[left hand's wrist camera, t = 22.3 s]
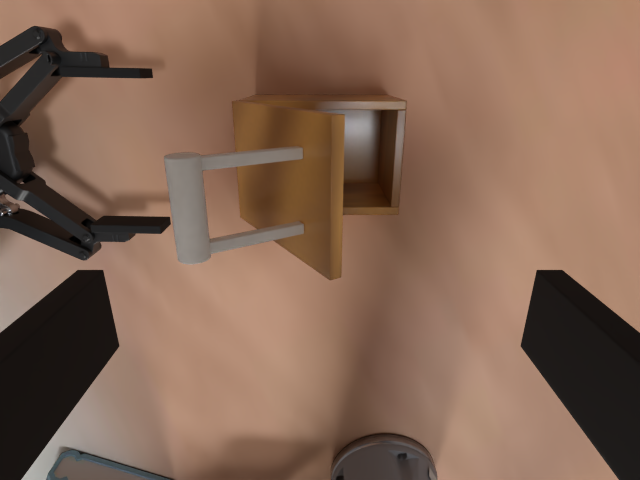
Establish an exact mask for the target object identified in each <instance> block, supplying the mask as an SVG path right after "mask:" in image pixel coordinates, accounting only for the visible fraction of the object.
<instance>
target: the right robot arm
mask: <svg viewBox="0 0 640 480" xmlns="http://www.w3.org/2000/svg"><path fill="white" fill-rule="evenodd" d="M41 54H42V56H41V57H40V58H39V59H38V60H37V61H36V62H35V64H34V65H33V66H32V67H31V68H30V69H29V70H28V71H27V72H26V74H25V75H24V76H23V77H22V78H21V79H20V80H19V81H18V83H17V84H16V85H15V86H14V87H13V88H12V89H11V90H10V91H9V93H8V94H7V95H6V96H5V97H4V98H3V99H2V100H1V102H0V228H6V229H11V230H13V231H15V232H18V233H20V234H22V235H25V236H27V237H29V238H32V239H34V240H36V241H39V242H41V243H43V244H46V245H48V246H50V247H53V248H55V249H57V250H60V251H62V252H64V253H67V254H69V255H71V256H74V257H76V258H78V259H81V260H87V259H89V258H90V257H91V256H92V255H94V254H95V253H96V252H97V251H99V250H100V249H101V243H100V242H126V241H128V240H130V239H131V238H132V237H134V236H135V233H147V234H161V233H162V232H163V231H164V230H165V229H166V228H167V227H168V226H169V225H170V224H171V223H170V217H144V216H103V217H101V218H100V219H98V220H97V221H96V220H95V219H94V218H92V217H91V216H89V215H88V214H87V213H85V212H84V211H82V210H81V209H79V208H78V207H77V206H75V205H74V204H72V203H71V202H70V201H68V200H67V199H65V198H64V197H63V196H61V195H60V194H58V193H57V192H55V191H54V190H53V189H51V188H50V187H48V186H47V185H46V182H45V180H43V179H42V178H41V177H39V176H38V175H36V174H35V173H34V172H32V167H35V164H34V160H33V157H32V155H31V153H30V151H29V139H28V135H27V133H24V132H23V130H22V129H21V128H20V127H19V126H20V125H21V124H22V123H23V122H24V121H25V120H26V119H27V118H28V117H29V115H30V113H29V112H30V111H31V110H32V109H33V108H34V107H35V106H36V105H37V104H38V102H39V101H40V100H41V99H42V98H43V97H44V96H45V95H46V94H47V93H48V92H49V91H50V90H51V88H52V87H53V86H54V85H55V84H56V83H57V82H58V81H59V80H60V79H61V78H62V77H101V78H153V74H152V69H145V68H110V67H109V61H108V56H107V55H105V54H103V53H97V52H70V51H68V50H67V49H66V48H65V47H64V45H63V43H62V36H61V33H60V32H59V31H58V30H56V29H51V28H45V27H38V26H33V27H31V28H29V29H27V30H26V31H24V32H23V33H21V34H19V35H18V36H16V37H14V38H13V39H11V40H9V41H8V42H6V43H4V44H3V45H1V46H0V79H1V78H3V77H4V76H6V75H8V74H9V73H11V72H13V71H14V70H16V69H18V68H19V67H21V66H23V65H25V64H26V63H28V62H30V61H31V60H33V59H35V58H36V57H38V56H40V55H41ZM21 182H24V184H20V183H21ZM6 194H8V195H10V196H11V197H13V198H14V199H16V200H22V201H24V202H26V203H27V204H29V205H30V206H32V207H33V208H35V209H36V210H38V211H39V212H40V213H42V214H43V215H45V216H46V217H48V218H49V219H48V218H45V217H43V216H41V215H38V214H36V213H34V212H31V211H29V210H25V209H20V206H19V204H16V203H15V204H14V203H11V202H9V201H8V200H7V199H6V197H5V195H6ZM50 219H51V220H50Z"/></svg>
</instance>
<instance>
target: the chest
mask: <svg viewBox="0 0 640 480" xmlns="http://www.w3.org/2000/svg"><path fill="white" fill-rule="evenodd" d="M239 101H248V102H256V103H263V104H271V105H278V106H286V107H293V108H301V109H308V110H316V111H323V112H331V113H338V114H344V115H345V134H344V178H343V215H398V212H399V199H400V186H401V173H402V159H403V146H404V132H405V119H406V105H407V101H406V100H402V99H399V98H396V97H393V96H390V95H254V96H251V97H248V98H245V99H242V100H239Z"/></svg>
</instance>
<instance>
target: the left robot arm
mask: <svg viewBox="0 0 640 480" xmlns="http://www.w3.org/2000/svg"><path fill="white" fill-rule="evenodd" d="M118 347H119V342H118V338H117V333H116V328H115V323H114V319H113V314H112V309H111V305H110V300H109V295H108V291H107V286H106V281H105V277H104V272H103V270H77V271H76V272H75V273H74V274H72V275H71V276H70V277H69V278H67V279H66V280H65V281H64V282H62V283H61V284H60V285H59V286H58V287H56V288H55V289H54V290H53V291H51V292H50V293H49V294H48V295H46V296H45V297H44V298H43V299H42V300H40V301H39V302H38V303H37V304H35V305H34V306H33V307H32V308H30V309H29V310H28V311H27V312H26V313H24V314H23V315H22V316H21V317H19V318H18V319H17V320H16V321H14V322H13V323H12V324H11V325H10V326H8V327H7V328H6V329H5V330H3V331H2V332H1V333H0V480H21V479H22V478H23V476H24V475H25V474H26V472H27V471H28V470H29V468H30V467H31V465H32V464H33V463H34V461H35V460H36V459H37V457H38V456H39V455H40V453H41V452H42V451H43V449H44V448H45V446H46V445H47V444H48V442H49V441H50V440H51V438H52V437H53V436H54V434H55V433H56V431H57V430H58V429H59V427H60V426H61V425H62V423H63V422H64V421H65V419H66V418H67V417H68V415H69V414H70V412H71V411H72V410H73V408H74V407H75V406H76V404H77V403H78V402H79V400H80V399H81V398H82V396H83V395H84V393H85V392H86V391H87V389H88V388H89V387H90V385H91V384H92V383H93V381H94V380H95V379H96V377H97V376H98V374H99V373H100V372H101V370H102V369H103V368H104V366H105V365H106V364H107V362H108V361H109V359H110V358H111V357H112V355H113V354H114V353H115V351H116V350H117V349H118ZM521 347H522V349H523V350H524V351H525V353H526V354H527V355H528V357H529V358H530V359H531V361H532V362H533V364H534V365H535V366H536V368H537V369H538V370H539V372H540V373H541V374H542V376H543V377H544V379H545V380H546V381H547V383H548V384H549V385H550V387H551V388H552V389H553V391H554V392H555V393H556V395H557V396H558V398H559V399H560V400H561V402H562V403H563V404H564V406H565V407H566V408H567V410H568V411H569V412H570V414H571V415H572V417H573V418H574V419H575V421H576V422H577V423H578V425H579V426H580V427H581V429H582V430H583V431H584V433H585V434H586V436H587V437H588V438H589V440H590V441H591V442H592V444H593V445H594V446H595V448H596V449H597V451H598V452H599V453H600V455H601V456H602V457H603V459H604V460H605V461H606V463H607V464H608V465H609V467H610V468H611V470H612V471H613V472H614V474H615V475H616V476H617V478H618V479H619V480H640V333H639V332H638V331H637V330H635V329H634V328H633V327H632V326H630V325H629V324H628V323H627V322H626V321H624V320H623V319H622V318H621V317H619V316H618V315H617V314H616V313H614V312H613V311H612V310H611V309H610V308H608V307H607V306H606V305H605V304H603V303H602V302H601V301H600V300H598V299H597V298H596V297H595V296H594V295H592V294H591V293H590V292H589V291H587V290H586V289H585V288H584V287H582V286H581V285H580V284H579V283H578V282H576V281H575V280H574V279H573V278H571V277H570V276H569V275H568V274H566V273H565V272H564V271H563V270H537V272H536V277H535V281H534V286H533V291H532V295H531V300H530V305H529V309H528V314H527V319H526V323H525V328H524V333H523V338H522V342H521ZM331 480H437V473H436V469H435V466H434V462H433V459H432V457H431V455H430V454H429V452H428V451H427V450H426V449H425V448H424V447H423V446H422V445H420V444H419V443H417V442H416V441H414V440H412V439H409V438H406V437H403V436H398V435H391V434H380V435H372V436H368V437H364V438H361V439H359V440H356V441H354V442H353V443H351V444H349V445H348V446H346V447H345V448H344V449H343V450H342V451H341V452H340V453H339V454H338V455H337V457H336V458H335V460H334V462H333V464H332V468H331Z"/></svg>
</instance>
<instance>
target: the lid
mask: <svg viewBox="0 0 640 480" xmlns="http://www.w3.org/2000/svg"><path fill="white" fill-rule="evenodd" d="M232 108H233V122H234V136H235V150H236V152H231V153H221V154H211V155H200V154H198V153H191V152H183V153H173V154H168V155H166V156H164V162H165V169H166V177H167V184H168V191H169V198H170V206H171V213H172V220H173V228H174V235H175V242H176V250H177V257H178V261H179V262H181V263H183V264H198V263H202V262H205V261H207V260H209V259H210V257H211V254H213V253H217V252H222V251H227V250H231V249H236V248H240V247H245V246H249V245H254V244H259V243H263V242H268V241H272V240H273V241H275V242H276V243H278V244H279V245H280V246H282V247H283V248H285V249H286V250H288V251H289V252H290V253H292V254H293V255H295V256H296V257H297V258H299V259H300V260H302V261H303V262H305V263H306V264H307V265H309V266H310V267H312V268H313V269H314V270H316V271H317V272H319V273H320V274H322V275H323V276H324V277H326V278H327V279H329V280H333V279H337V278H340V277H341V266H342V222H343V178H344V134H345V115H344V114H338V113H331V112H323V111H316V110H308V109H301V108H293V107H286V106H278V105H271V104H263V103H256V102H248V101H232ZM229 167H237V177H238V191H239V205H240V217H241V218H242V219H244V220H245V221H246V222H248V223H249V224H251V225H252V226H253V227H255V228H256V229H257V230H252V231H247V232H242V233H237V234H232V235H227V236H222V237H217V238H212V239H209V230H208V220H207V211H206V201H205V191H204V182H203V172H202V171H203V170H212V169H221V168H229Z"/></svg>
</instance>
